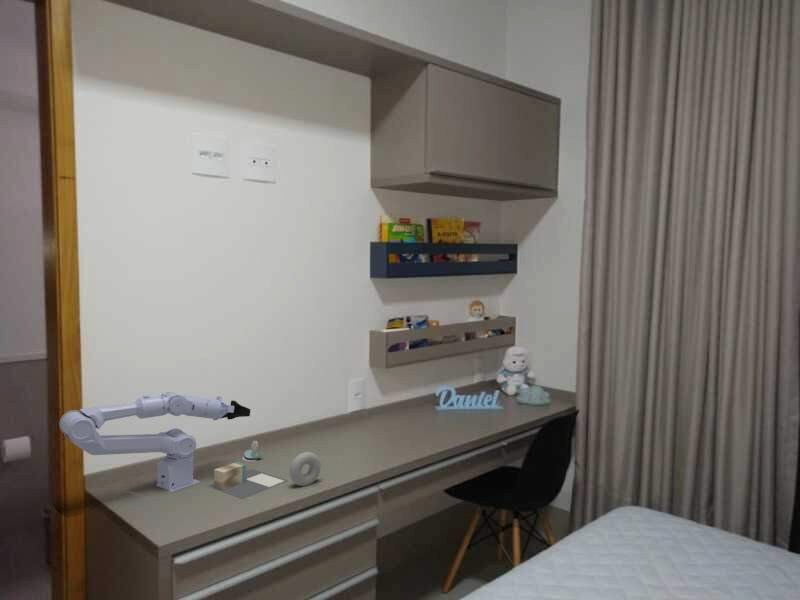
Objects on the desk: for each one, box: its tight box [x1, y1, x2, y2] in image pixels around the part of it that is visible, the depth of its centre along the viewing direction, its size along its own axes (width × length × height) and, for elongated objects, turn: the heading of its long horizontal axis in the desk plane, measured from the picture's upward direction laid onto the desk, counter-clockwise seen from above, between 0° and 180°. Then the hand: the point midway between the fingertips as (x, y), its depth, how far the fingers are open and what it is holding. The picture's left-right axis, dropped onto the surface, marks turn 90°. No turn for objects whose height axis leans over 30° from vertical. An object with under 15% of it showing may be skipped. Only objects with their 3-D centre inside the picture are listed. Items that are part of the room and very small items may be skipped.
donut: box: [289, 451, 322, 487], centre depth 172 cm, size 10×3×10 cm, turn 131°
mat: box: [205, 468, 289, 500], centre depth 173 cm, size 17×16×1 cm
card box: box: [213, 461, 247, 490], centre depth 172 cm, size 8×4×5 cm, turn 145°
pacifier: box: [242, 440, 264, 462], centre depth 194 cm, size 7×6×6 cm
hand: (243, 413), depth 185 cm, fingers open, 7 cm apart
